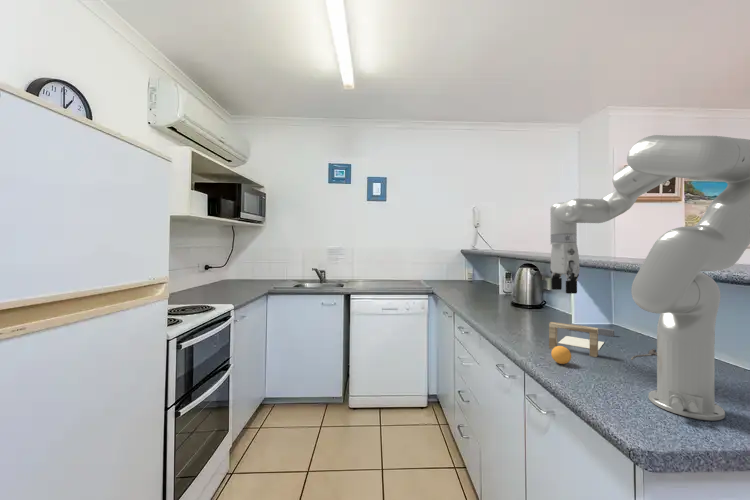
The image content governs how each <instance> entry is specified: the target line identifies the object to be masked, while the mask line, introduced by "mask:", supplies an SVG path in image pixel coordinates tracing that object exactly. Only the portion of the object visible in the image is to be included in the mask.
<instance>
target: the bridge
mask: <svg viewBox="0 0 750 500" xmlns="http://www.w3.org/2000/svg"><path fill="white" fill-rule="evenodd" d="M570 324H571V323H563V322H555V321H550V322H549V323H548V348H549V349H551V350H553V348H554V347H556V346H558V329H564V330H569V331H572V330H576V331H575V332H579V331H583V332H582V333H585V332H589V333H588V334H589V340H590V349H589V357H593V358H598V356H599V350H598V341H599V334H598V328H599V327H598V328H592V327H593V326H590V327H585V326H586V325H583V326H578V325H579V324H576V325H570Z"/></svg>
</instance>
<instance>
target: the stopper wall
mask: <svg viewBox="0 0 750 500" xmlns="http://www.w3.org/2000/svg"><path fill="white" fill-rule="evenodd" d="M569 324H570V325H578V326H585V327H592V328H598V336H599V335H600V336H606V337H612V338H613V337H615V329H610V328H603V327H597V326H589V325H581V324H575V323H569ZM571 331H573V332H577V331H576V330H571ZM578 332H580V333H587V334H590V333H589V332H583V331H578Z"/></svg>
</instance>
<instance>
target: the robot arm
mask: <svg viewBox="0 0 750 500" xmlns="http://www.w3.org/2000/svg"><path fill="white" fill-rule="evenodd" d="M626 163H627V165H626V166H624V167H622V168H620V170H618V171H615V173H614V174H613V176H612V184H613V187H614V188H615V190H614V191H612V192H611V193H609V194H607V195H606V196H604V197H602V198H598V199H596V198H574V199H570V200H566V201H565V202H563V201H562V202H557V203H554V204H552V205H551V207H550V209H549V210H550V245H551V250H550V264H549V268H550V269H549V270H550V272H549V273H550V277H551V284H550V285H551V290H555V291H556V290H557V291H559V290H562V289H563V288H562V287H563V286H562V283H563V282H562V281H563V278H561V277H562V275H565V278H566V280H565V294H570V295H571V294H577V293H578V281H579V276H580V275H579V273H580V269H581V268H580V258H579V257H580V255H579V249H578V248H579V247H578V245H577V244H578V239H577V238H578V236H577V235H578V234H577V233H578V232H577V231H578V228H577V227H578V224H602V223H606V222H609V221H611V220H613V219H615V218H616V217H618V216H620V215H622V214H624V213H626V212H627V211H628V210H630V209H631V208H632V207H633V205H635V203H636V202H637V199H638V198H639V197H641V196H642V195H644V194H646V193H648V192H649V191H651V190H652V189H655V188H657V187H658V186H660V185H662V184H664V183H666V182H668V181H670V180H671V179H673V178H679V179H685V180H687V179H689V180H697V181H708V182H709V181H710V182H724V183H726V184H727V186H726V187H725V189H724V190H722V192H720V193H719V194H718V195H717V196H716V197H715V198H714V199H713V200H712V201H711V202H710V204H709V205H708V207H707V208H706V210H705V213H704V214H703V216H702V217H701V218H700V220H699V221H698V223H697V224H696V225H694V226H693V225H692V226H689V225H688V226H680V227H676V228H672V229H670V230H667V231H666V232H665V233H663V234H662V235H660V236H659V238H658V239H657V240H656V241H655V242H654V243H653V244H652V246H651V249H650V250H649V252H648V253H647V255H646V257H645V259H644V261H643V263H642V264H641V266H640V267H639V270H638V271H637V273H636V275H635V277H634V279H633V281H632V283H631V290H630V293H631V297H632V300H633V301H634V303H635V304H636V305H637V306H638V308H640V309H642V310H644V311H645V312H648V313H650V314H651V313H652V314H658V315H659V318H658V321H657V325H656V326H657V328H656V329H657V331H656V334H657V335H656V352H657V356H656V389H655V390H651V391H650V392H648V399H649V401H650V402H651V403H652V404H653V405H655V406H657V407H659V408H661V409H663V410H665V411H668V412H669V413H670V412H671V413H673V414H676V415H679V416H683V417H686V418H691V419H696V420H702V421H711V422H712V421H713V422H714V421H721V420H723V419H725V417H726V410H724V409H723V407H721V406H720V405H718V404H717V403H715V370H716V369H715V368H716V367H715V360H716V359H715V358H716V357H715V354H716V353H715V352H716V351H715V343H716V321H717V316H718V312H719V307H720V303H721V290H720V287H719V285H718V283H717V282H716V281H715V280H714V278H712V277H711V276H709V275H707V274H705V273H703V272H715V271H724V270H727V269H729V268H731V267H733V266H734V265H735V264H736V263H737V262H738V261H739V260H740V258H741V257H742V255H743V254H744V252H745V251H746V250H747V249H748V247H749V246H750V139H747V138H740V137H739V138H738V137H731V136H718V135H667V134H666V135H664V134H663V135H661V134H653V135H649V136H646V137H644V138H641V139H639V140H638V141H637V142H635V143H634V144H633V145H632V147H630V149H629V151H628V153H627V156H626Z"/></svg>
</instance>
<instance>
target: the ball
mask: <svg viewBox="0 0 750 500" xmlns="http://www.w3.org/2000/svg"><path fill="white" fill-rule="evenodd" d="M551 358H552V360H553V361H554V362H556V363H557V364H561V365H565V364H568V363H569V362H570V361H571V360H572V353H571V351H570V350H569V349H568V348H567V347H565V346H562V345H557V346H556V347H554V348H553V349H551Z"/></svg>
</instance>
